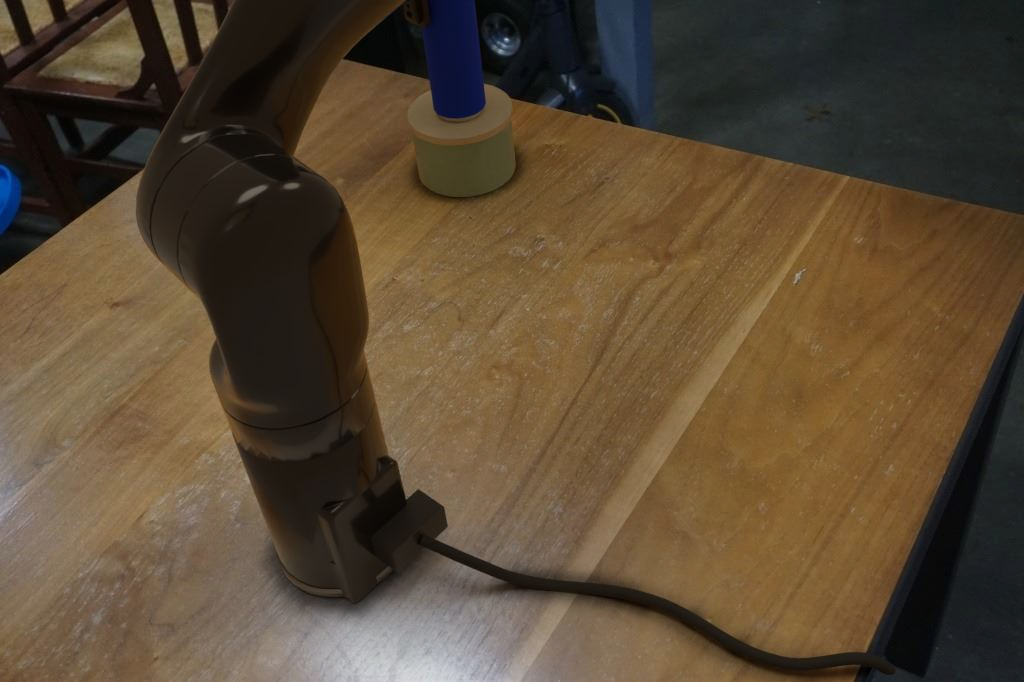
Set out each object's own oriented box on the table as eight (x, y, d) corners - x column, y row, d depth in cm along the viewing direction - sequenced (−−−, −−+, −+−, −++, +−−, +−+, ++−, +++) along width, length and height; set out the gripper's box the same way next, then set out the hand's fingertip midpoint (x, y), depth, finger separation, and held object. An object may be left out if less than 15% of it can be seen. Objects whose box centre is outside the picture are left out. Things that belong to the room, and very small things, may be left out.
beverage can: (490, 96, 109) (474, -50, 99) (481, 124, 106) (464, -24, 96) (439, 96, 110) (419, -49, 100) (429, 124, 107) (407, -24, 96)
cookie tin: (538, 161, 113) (533, 101, 108) (470, 211, 108) (462, 150, 103) (464, 130, 118) (457, 71, 114) (396, 176, 113) (385, 117, 108)
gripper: (391, -145, 84) (420, 53, 95) (514, -202, 91) (528, -12, 103) (326, -162, 88) (362, 30, 99) (449, -215, 95) (470, -30, 107)
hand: (446, 8), depth 101 cm, fingers open, 6 cm apart
